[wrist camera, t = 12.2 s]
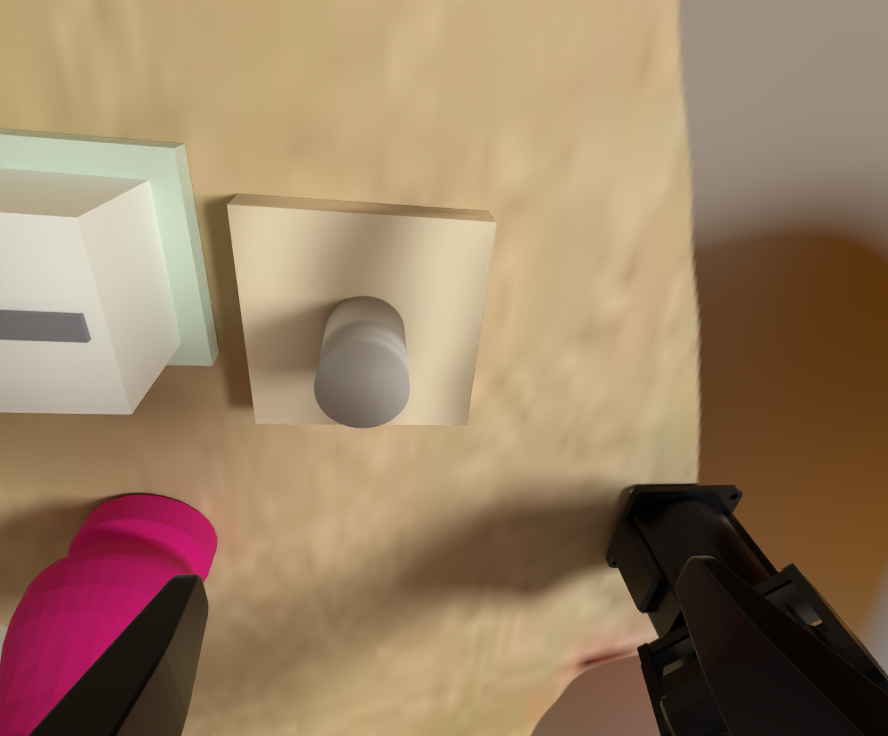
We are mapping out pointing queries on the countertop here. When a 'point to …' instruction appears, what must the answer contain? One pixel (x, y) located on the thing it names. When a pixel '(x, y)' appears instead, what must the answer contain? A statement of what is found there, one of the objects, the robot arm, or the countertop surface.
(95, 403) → the white cabinet cube
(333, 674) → the countertop surface
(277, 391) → the post base
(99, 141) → the pad
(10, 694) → the pepper mill
